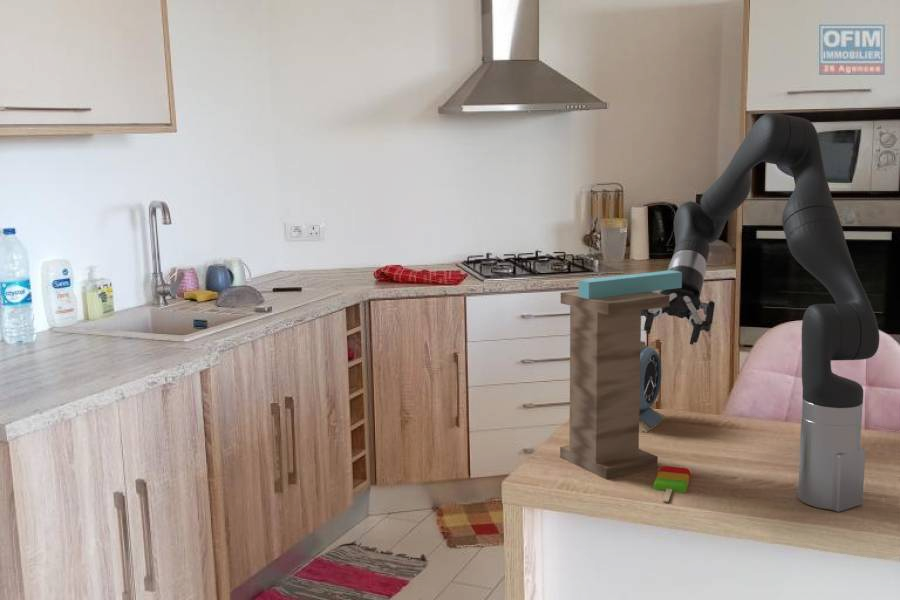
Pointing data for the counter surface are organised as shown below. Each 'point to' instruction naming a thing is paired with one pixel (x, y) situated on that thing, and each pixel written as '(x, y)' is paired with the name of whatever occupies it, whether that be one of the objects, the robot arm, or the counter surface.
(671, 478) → the popsicle
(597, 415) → the shelf stand
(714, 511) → the counter surface
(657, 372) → the alarm clock
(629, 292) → the teal bar
